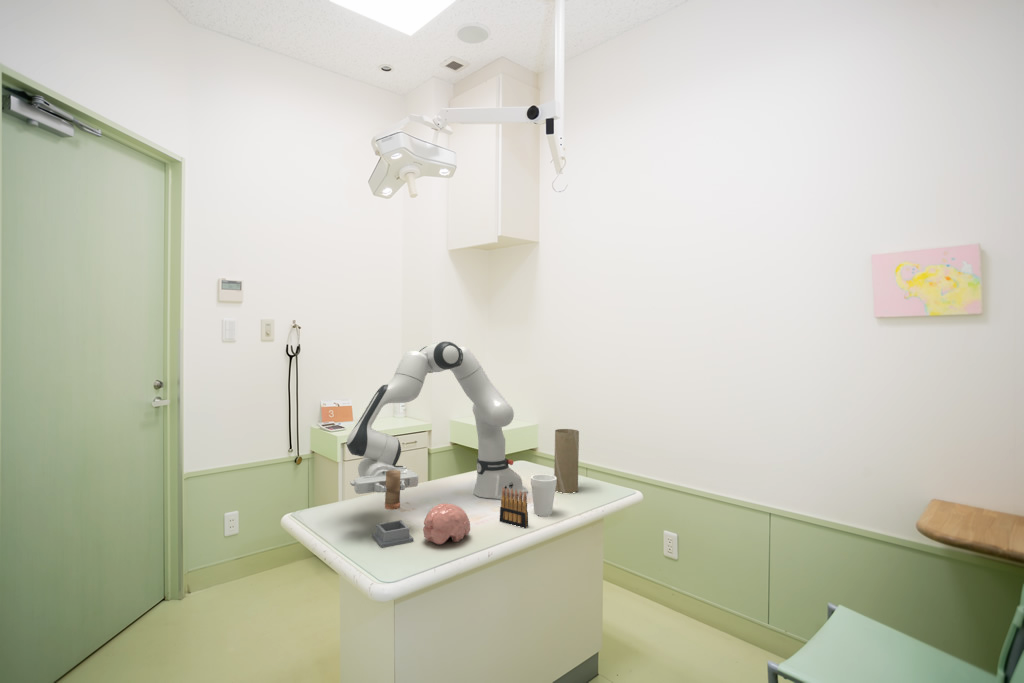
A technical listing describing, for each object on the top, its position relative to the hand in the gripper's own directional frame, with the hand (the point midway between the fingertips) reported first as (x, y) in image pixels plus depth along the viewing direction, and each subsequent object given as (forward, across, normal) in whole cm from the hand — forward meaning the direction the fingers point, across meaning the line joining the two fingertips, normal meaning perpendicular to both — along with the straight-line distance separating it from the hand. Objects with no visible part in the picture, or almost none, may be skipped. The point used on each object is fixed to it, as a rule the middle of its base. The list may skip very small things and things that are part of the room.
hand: (393, 488), depth 156 cm
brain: (+8, +15, +16) cm, 23 cm away
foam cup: (+2, +55, +16) cm, 58 cm away
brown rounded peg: (-1, 0, +6) cm, 6 cm away
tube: (-17, +80, +16) cm, 83 cm away
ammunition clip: (+6, +40, +16) cm, 44 cm away
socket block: (-1, 0, +16) cm, 16 cm away
